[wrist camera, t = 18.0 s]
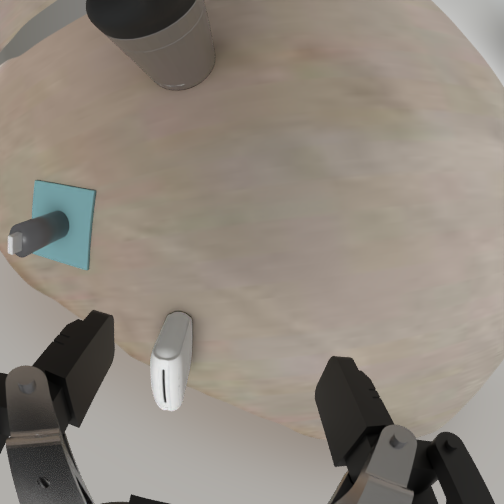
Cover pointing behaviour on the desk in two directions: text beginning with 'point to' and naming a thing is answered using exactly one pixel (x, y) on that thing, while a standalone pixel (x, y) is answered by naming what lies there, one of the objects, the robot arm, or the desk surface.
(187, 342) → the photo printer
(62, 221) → the grey capped bottle
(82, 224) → the teal mat
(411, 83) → the desk surface
